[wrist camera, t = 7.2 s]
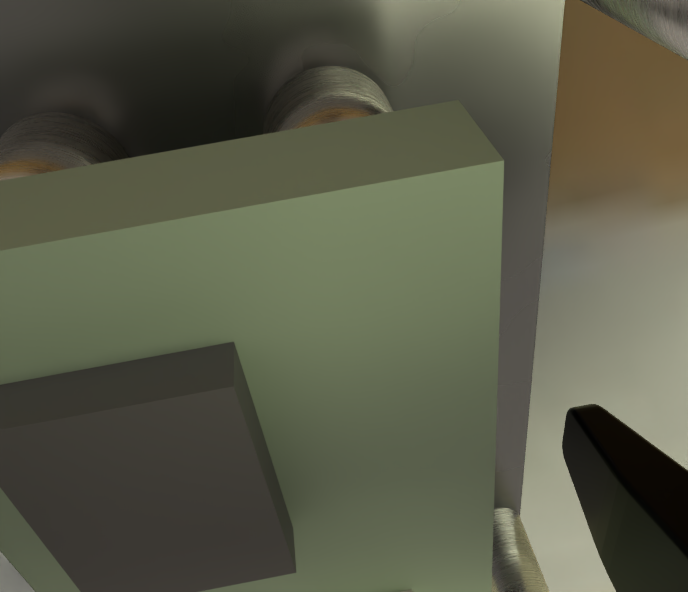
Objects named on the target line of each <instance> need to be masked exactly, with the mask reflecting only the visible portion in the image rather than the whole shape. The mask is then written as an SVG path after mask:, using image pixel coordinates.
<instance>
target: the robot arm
mask: <svg viewBox="0 0 688 592" xmlns="http://www.w3.org/2000/svg"><path fill="white" fill-rule="evenodd" d="M562 449H563V455H564V459H565V462H566V465H567V467H568V470H569V473H570V476H571V479H572V481H573V484H574V487H575V490H576V493H577V495H578V498H579V501H580V504H581V506H582V509H583V512H584V515H585V518H586V520H587V523H588V526H589V529H590V531H591V534H592V537H593V540H594V543H595V545H596V548H597V550H598V553H599V556H600V558H601V560H602V563H603V565H604V567H605V569H606V571H607V574H608V576H609V578H610V580H611V582H612V584H613V586H614V588H615V590H616V592H688V470H686V469H685V468H684V467H682V466H681V465H680V464H678V463H677V462H676V461H674V460H673V459H671V458H670V457H669V456H667V455H666V454H665V453H663V452H662V451H661V450H659V449H658V448H657V447H655V446H654V445H653V444H651V443H650V442H648V441H647V440H646V439H644V438H643V437H642V436H640V435H639V434H638V433H636V432H635V431H634V430H632V429H631V428H630V427H628V426H627V425H625V424H624V423H623V422H621V421H620V420H619V419H617V418H616V417H615V416H613V415H612V414H611V413H609V412H608V411H607V410H605V409H604V408H602V407H601V406H599V405H596V404H589V405H584V406H578V407H573V408H570V409H569V410H568V412H567V415H566V421H565V428H564V435H563V442H562Z"/></svg>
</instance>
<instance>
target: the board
mask: <svg viewBox="0 0 688 592" xmlns="http://www.w3.org/2000/svg"><path fill="white" fill-rule="evenodd" d="M503 184H504V160H503V158H502V157H501V156H500V154H499V153H498V152H497V150H496V149H495V148H494V146H493V145H492V144H491V142H490V141H489V140H488V138H487V137H486V136H485V134H484V133H483V132H482V130H481V129H480V128H479V127H478V125H477V124H476V123H475V121H474V120H473V119H472V117H471V116H470V115H469V113H468V112H467V111H466V109H465V108H464V107H463V105H462V104H461V103H460V101H459V100H455V101H449V102H444V103H438V104H432V105H427V106H421V107H415V108H410V109H404V110H398V111H393V112H387V113H381V114H376V115H370V116H364V117H359V118H353V119H347V120H342V121H336V122H330V123H325V124H319V125H313V126H308V127H302V128H297V129H291V130H285V131H280V132H274V133H268V134H263V135H257V136H251V137H246V138H240V139H234V140H229V141H223V142H217V143H212V144H206V145H200V146H195V147H189V148H183V149H178V150H172V151H166V152H161V153H155V154H149V155H144V156H138V157H132V158H127V159H121V160H115V161H110V162H104V163H98V164H93V165H87V166H81V167H76V168H70V169H64V170H59V171H53V172H47V173H42V174H36V175H30V176H25V177H19V178H13V179H8V180H2V181H0V551H1V552H2V553H3V555H4V556H5V557H6V558H7V559H8V560H9V562H10V563H11V564H12V565H13V566H14V567H15V569H16V570H17V571H18V572H19V573H20V574H21V576H22V577H23V578H24V579H25V580H26V581H27V583H28V584H29V585H30V586H31V587H32V588H33V590H34V591H35V592H492V558H493V524H494V490H495V456H496V422H497V388H498V354H499V320H500V286H501V252H502V218H503Z"/></svg>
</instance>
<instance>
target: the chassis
mask: <svg viewBox="0 0 688 592" xmlns="http://www.w3.org/2000/svg"><path fill="white" fill-rule="evenodd" d="M581 1H583V2H584V3H586V4H588V5H590V6H592V7H593V8H595V9H597V10H599V11H601V12H602V13H604V14H606V15H608V16H610V17H611V18H613V19H615V20H617V21H619V22H620V23H622V24H624V25H626V26H627V27H629V28H631V29H633V30H635V31H636V32H638V33H640V34H642V35H644V36H645V37H647V38H649V39H651V40H653V41H654V42H656V43H658V44H660V45H662V46H663V47H665V48H667V49H669V50H670V51H672V52H674V53H676V54H678V55H679V56H681V57H683V58H685V59H687V60H688V0H581ZM564 4H565V0H0V181H2V180H8V179H13V178H19V177H25V176H30V175H36V174H42V173H47V172H53V171H59V170H64V169H70V168H76V167H81V166H87V165H93V164H98V163H104V162H110V161H115V160H121V159H127V158H132V157H138V156H144V155H149V154H155V153H161V152H166V151H172V150H178V149H183V148H189V147H195V146H200V145H206V144H212V143H217V142H223V141H229V140H234V139H240V138H246V137H251V136H257V135H263V134H268V133H274V132H280V131H285V130H291V129H297V128H302V127H308V126H313V125H319V124H325V123H330V122H336V121H342V120H347V119H353V118H359V117H364V116H370V115H376V114H381V113H387V112H393V111H398V110H404V109H410V108H415V107H421V106H427V105H432V104H438V103H444V102H449V101H455V100H459V101H460V103H461V104H462V105H463V107H464V108H465V109H466V111H467V112H468V113H469V115H470V116H471V117H472V119H473V120H474V121H475V123H476V124H477V125H478V127H479V128H480V129H481V130H482V132H483V133H484V134H485V136H486V137H487V138H488V140H489V141H490V142H491V144H492V145H493V146H494V148H495V149H496V150H497V152H498V153H499V154H500V156H501V157H502V158H503V160H504V184H503V218H502V252H501V286H500V320H499V354H498V388H497V422H496V456H495V490H494V524H493V558H492V592H549V589H548V587H547V584H546V582H545V579H544V577H543V574H542V572H541V569H540V567H539V564H538V562H537V559H536V557H535V554H534V552H533V549H532V547H531V544H530V541H529V539H528V536H527V534H526V531H525V529H524V526H523V524H522V521H521V519H520V507H521V496H522V484H523V473H524V462H525V450H526V439H527V427H528V416H529V404H530V393H531V382H532V370H533V359H534V347H535V336H536V324H537V313H538V302H539V290H540V279H541V267H542V256H543V244H544V233H545V222H546V210H547V199H548V187H549V176H550V164H551V153H552V141H553V130H554V119H555V107H556V96H557V84H558V73H559V61H560V50H561V39H562V27H563V16H564Z"/></svg>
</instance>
